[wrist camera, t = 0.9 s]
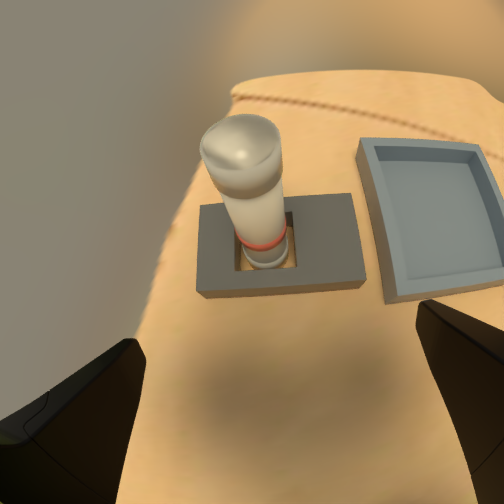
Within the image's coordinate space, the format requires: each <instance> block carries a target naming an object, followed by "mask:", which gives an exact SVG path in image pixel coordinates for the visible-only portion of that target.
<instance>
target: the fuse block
mask: <svg viewBox="0 0 504 504" xmlns="http://www.w3.org/2000/svg"><path fill="white" fill-rule="evenodd" d="M283 198H284V211H285V217H286V226H293V236H294V248H295V260H296V267H292V268H278V269H263V270H248V271H240V240H239V238H238V236H237V234H236V231H235V228H234V225H233V223H232V220H231V218H230V216H229V213H228V211H227V209H226V206H225V204H224V203H217V204H208V205H200V215H199V232H198V253H197V279H196V291H197V292H198V293H199V294H201V295H202V296H203V297H205V298H206V299H208V298H231V297H251V296H268V295H284V294H298V293H311V292H324V291H336V290H347V289H357V288H360V287H361V285H362V284H363V283H364V282H365V281H366V273H365V266H364V259H363V253H362V247H361V241H360V236H359V230H358V225H357V220H356V215H355V210H354V205H353V200H352V196H351V193H342V194H324V195H308V196H294V197H283Z"/></svg>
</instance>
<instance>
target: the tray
mask: <svg viewBox="0 0 504 504" xmlns="http://www.w3.org/2000/svg"><path fill="white" fill-rule="evenodd" d="M355 159H356V162H357V166H358V169H359V173H360V177H361V181H362V185H363V189H364V193H365V197H366V201H367V205H368V209H369V214H370V218H371V223H372V228H373V233H374V238H375V243H376V248H377V254H378V260H379V265H380V272H381V278H382V285H383V292H384V299H385V304H393V303H401V302H408V301H415V300H422V299H429V298H435V297H442V296H448V295H454V294H460V293H465V292H471V291H476V290H481V289H487V288H492V287H497V286H501V285H504V200H503V197H502V195H501V192H500V190H499V187H498V185H497V182H496V180H495V178H494V176H493V173H492V171H491V169H490V167H489V165H488V163H487V161H486V158H485V156H484V154H483V152H482V150H481V148H480V147H479V145H477V144H469V143H460V142H450V141H438V140H424V139H406V138H360V141H359V145H358V150H357V154H356V158H355Z"/></svg>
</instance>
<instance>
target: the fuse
mask: <svg viewBox="0 0 504 504" xmlns="http://www.w3.org/2000/svg"><path fill="white" fill-rule="evenodd" d="M200 153H201V156H202V159H203V161H204V163H205V166H206V168H207V170H208V172H209V175H210V177H211V179H212V182H213V184H214V185H215V187H216V188H217V190H218V191H219V192H220V195H221V197H222V199H223V202H224V204H225V206H226V209H227V211H228V213H229V216H230V218H231V220H232V223H233V225H234V228H235V231H236V234H237V236H238V238H239V240H240V242H241V243H242V248H243V251H244V254H245V256H246V258H247V260H248V262H249V264H250V266H251V267H252V268H253V269H255V270H263V269H278V268H282V267H283V266H284V264H285V263H286V261H287V259H288V254H289V250H288V238H287V235H286V217H285V211H284V198H283V186H282V172H283V161H282V149H281V138H280V133H279V130H278V128H277V127H276V126H275V124H274V123H273V122H271V121H270V120H268V119H267V118H264V117H262V116H259V115H254V114H239V115H234V116H230V117H227V118H224V119H222V120H221V121H218V122H217V123H215V124H214V125H213V126H211V127H210V128H209V129H208V130H207V131H206V133H205V135H204V136H203V138H202V140H201V143H200Z"/></svg>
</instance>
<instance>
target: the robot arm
mask: <svg viewBox="0 0 504 504" xmlns="http://www.w3.org/2000/svg"><path fill="white" fill-rule="evenodd" d="M416 330H417V333H418V336H419V339H420V341H421V344H422V347H423V350H424V353H425V356H426V359H427V362H428V365H429V367H430V370H431V372H432V374H433V377H434V379H435V381H436V383H437V386H438V388H439V390H440V393H441V395H442V397H443V400H444V402H445V404H446V407H447V409H448V412H449V414H450V417H451V419H452V422H453V425H454V427H455V430H456V433H457V435H458V438H459V441H460V444H461V447H462V450H463V453H464V456H465V459H466V462H467V465H468V468H469V471H470V474H471V479H472V482H473V486H474V490H475V493H476V497H477V501H478V504H504V331H502V330H500V329H498V328H496V327H493V326H491V325H489V324H487V323H485V322H482V321H480V320H478V319H476V318H473V317H471V316H469V315H467V314H464V313H462V312H460V311H458V310H455V309H453V308H451V307H448V306H446V305H444V304H441V303H439V302H437V301H435V300H432V299H429V300H425V301H421V302H420V303H419V305H418V311H417V318H416ZM145 368H146V357H145V355H144V353H143V351H142V349H141V347H140V345H139V342H138V341H137V340H136V339H135V338H126V339H123V340H122V341H120V342H119V343H117V344H116V345H114V346H113V347H111V348H110V349H109V350H107V351H106V352H104V353H103V354H101V355H100V356H98V357H97V358H96V359H94V360H93V361H91V362H90V363H88V364H87V365H85V366H84V367H82V368H81V369H80V370H78V371H77V372H75V373H74V374H72V375H71V376H69V377H68V378H66V379H65V380H64V381H62V382H61V383H59V384H58V385H56V386H55V387H53V388H52V389H50V391H47V392H46V393H45V394H43V395H42V396H40V397H39V398H37V399H36V400H34V401H33V402H31V403H30V404H28V405H26V406H25V407H23V408H21V409H20V410H18V411H16V412H15V413H13V414H11V415H9V416H8V417H6V418H4V419H2V420H1V421H0V504H116V498H117V493H118V489H119V484H120V479H121V475H122V470H123V466H124V461H125V457H126V453H127V449H128V444H129V440H130V436H131V432H132V429H133V425H134V421H135V417H136V413H137V410H138V406H139V402H140V397H141V391H142V385H143V379H144V373H145Z"/></svg>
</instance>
